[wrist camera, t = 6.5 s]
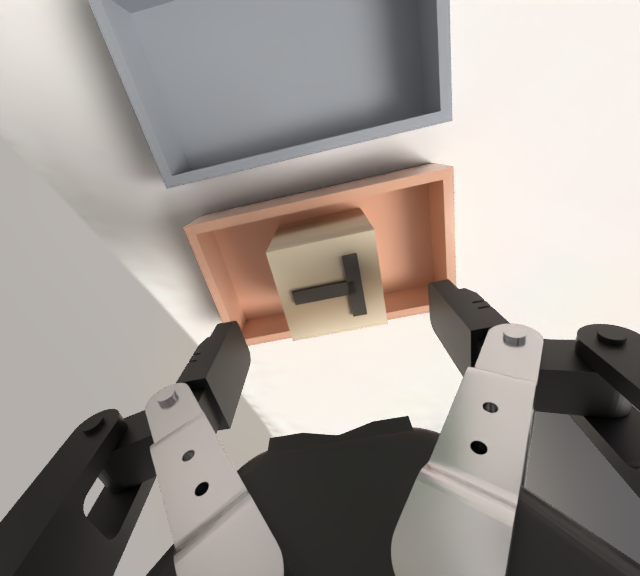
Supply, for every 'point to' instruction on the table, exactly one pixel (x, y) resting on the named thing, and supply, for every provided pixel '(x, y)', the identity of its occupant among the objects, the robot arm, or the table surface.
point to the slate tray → (275, 76)
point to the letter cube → (328, 274)
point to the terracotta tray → (368, 194)
